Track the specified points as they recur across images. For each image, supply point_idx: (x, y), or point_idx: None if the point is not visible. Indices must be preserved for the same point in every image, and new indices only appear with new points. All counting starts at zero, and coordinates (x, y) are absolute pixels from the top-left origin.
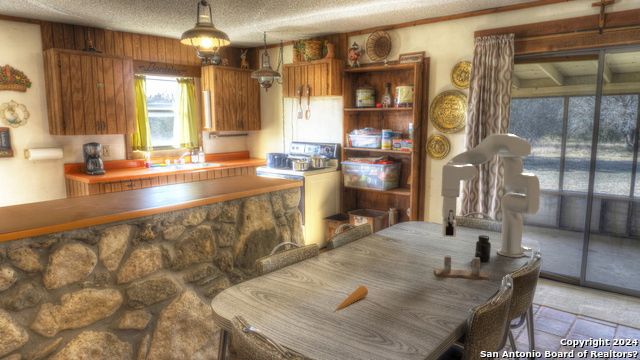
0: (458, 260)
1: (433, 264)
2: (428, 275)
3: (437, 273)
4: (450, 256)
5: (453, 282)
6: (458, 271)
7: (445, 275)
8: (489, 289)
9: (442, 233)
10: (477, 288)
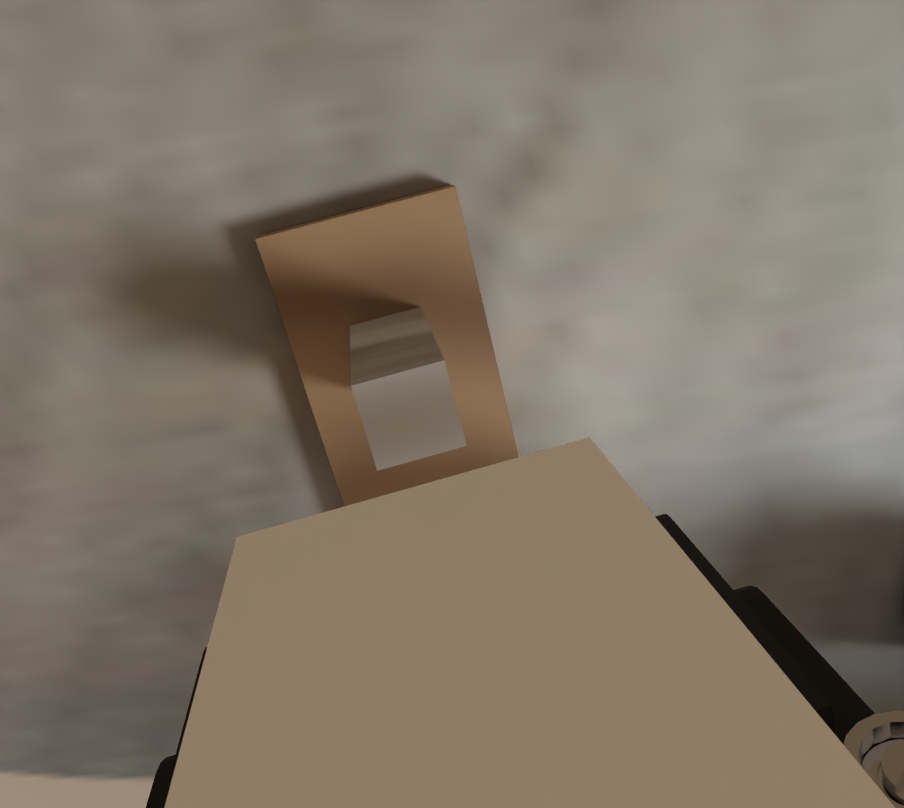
0: (898, 381)
1: (670, 124)
2: (223, 139)
3: (269, 252)
4: (428, 450)
5: (149, 450)
6: (457, 461)
7: (292, 344)
8: (154, 752)
9: (481, 482)
10: (116, 669)
